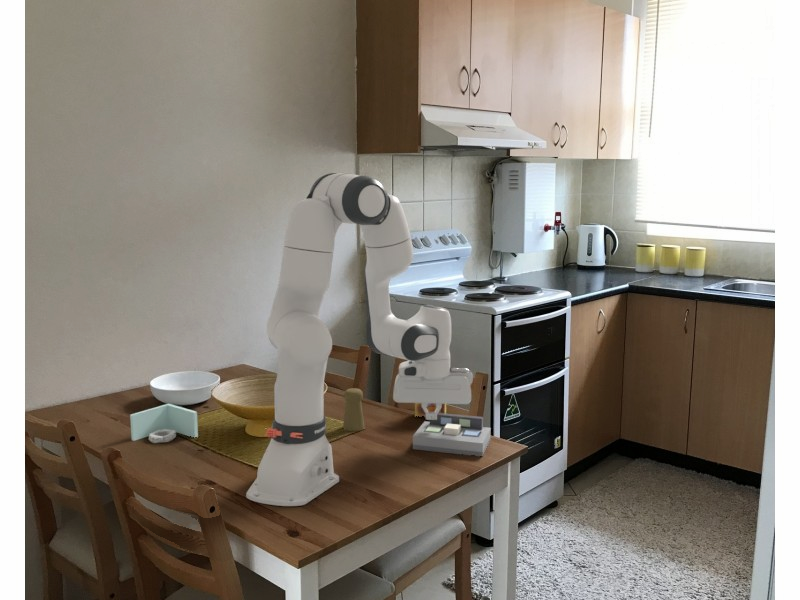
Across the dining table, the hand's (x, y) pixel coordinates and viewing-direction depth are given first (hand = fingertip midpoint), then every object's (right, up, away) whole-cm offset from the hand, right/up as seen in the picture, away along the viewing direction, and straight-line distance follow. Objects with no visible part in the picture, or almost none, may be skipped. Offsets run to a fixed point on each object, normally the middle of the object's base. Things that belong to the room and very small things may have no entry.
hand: (431, 419), depth 190 cm
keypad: (+5, -7, 0) cm, 9 cm away
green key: (+1, -5, +1) cm, 5 cm away
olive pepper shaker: (-21, -5, +13) cm, 25 cm away
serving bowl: (-74, -1, +36) cm, 83 cm away
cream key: (+5, -4, -1) cm, 7 cm away
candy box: (+1, -3, +23) cm, 23 cm away
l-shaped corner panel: (-70, -6, +3) cm, 71 cm away
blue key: (+10, -5, -2) cm, 12 cm away
